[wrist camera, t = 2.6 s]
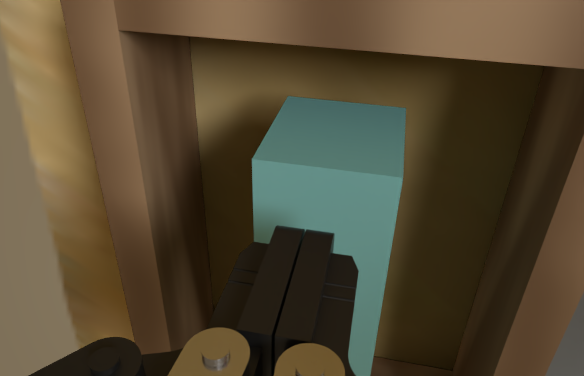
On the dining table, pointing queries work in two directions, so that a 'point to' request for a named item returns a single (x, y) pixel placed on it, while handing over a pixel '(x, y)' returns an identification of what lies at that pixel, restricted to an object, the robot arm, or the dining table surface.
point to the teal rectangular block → (336, 192)
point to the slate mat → (570, 347)
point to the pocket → (344, 35)
